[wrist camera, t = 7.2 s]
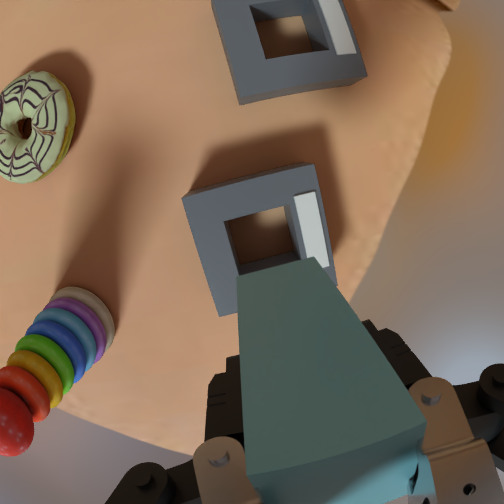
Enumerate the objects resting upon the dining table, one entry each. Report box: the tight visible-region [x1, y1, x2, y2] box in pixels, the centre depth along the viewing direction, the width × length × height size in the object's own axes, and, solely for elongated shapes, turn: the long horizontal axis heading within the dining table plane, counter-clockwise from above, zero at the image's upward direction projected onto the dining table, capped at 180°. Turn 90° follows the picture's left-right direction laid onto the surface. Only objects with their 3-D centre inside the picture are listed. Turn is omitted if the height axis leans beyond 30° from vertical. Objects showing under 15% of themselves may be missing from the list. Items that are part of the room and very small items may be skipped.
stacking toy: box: [0, 287, 115, 456], centre depth 21 cm, size 8×8×19 cm
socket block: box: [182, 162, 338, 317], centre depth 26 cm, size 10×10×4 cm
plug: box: [236, 256, 427, 504], centre depth 10 cm, size 4×4×10 cm
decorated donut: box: [0, 70, 76, 184], centre depth 22 cm, size 10×11×4 cm
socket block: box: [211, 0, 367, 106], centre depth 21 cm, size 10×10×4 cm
